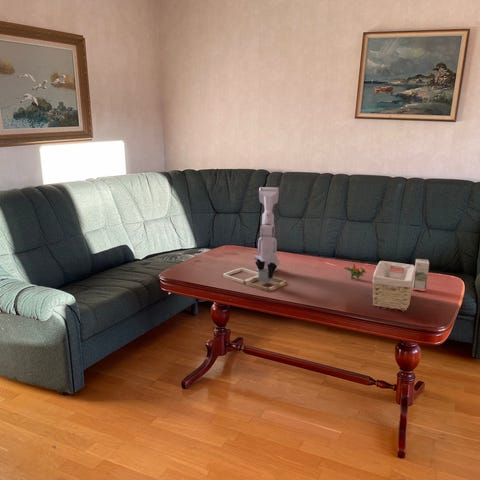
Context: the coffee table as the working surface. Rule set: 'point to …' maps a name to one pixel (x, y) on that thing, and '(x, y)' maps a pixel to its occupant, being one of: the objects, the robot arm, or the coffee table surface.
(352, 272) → the figurine
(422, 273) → the syrup box
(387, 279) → the storage basket
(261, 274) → the letter cube
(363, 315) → the coffee table surface
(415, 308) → the coffee table surface
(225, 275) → the cream square frame
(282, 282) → the brown wooden frame
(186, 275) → the coffee table surface
